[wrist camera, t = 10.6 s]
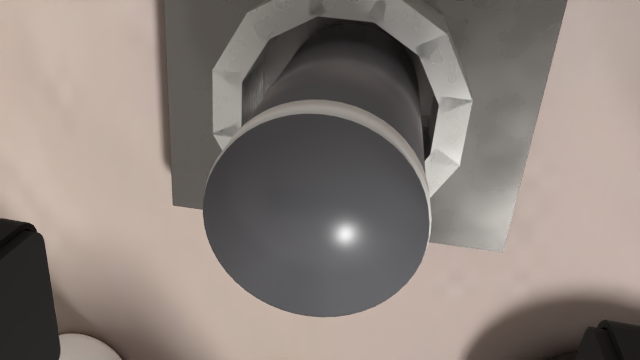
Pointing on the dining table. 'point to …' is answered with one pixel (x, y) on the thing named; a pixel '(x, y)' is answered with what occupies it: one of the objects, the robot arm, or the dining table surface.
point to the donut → (566, 356)
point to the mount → (433, 80)
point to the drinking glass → (84, 348)
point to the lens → (326, 180)
